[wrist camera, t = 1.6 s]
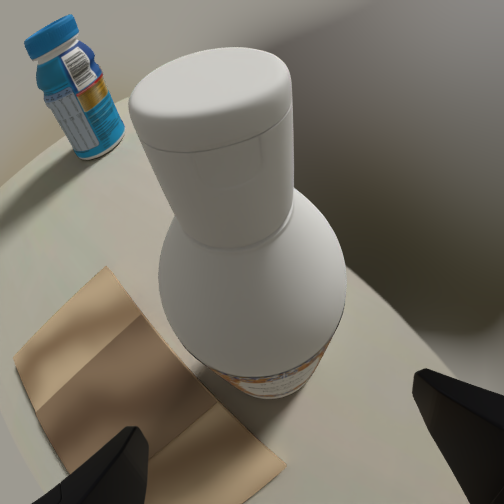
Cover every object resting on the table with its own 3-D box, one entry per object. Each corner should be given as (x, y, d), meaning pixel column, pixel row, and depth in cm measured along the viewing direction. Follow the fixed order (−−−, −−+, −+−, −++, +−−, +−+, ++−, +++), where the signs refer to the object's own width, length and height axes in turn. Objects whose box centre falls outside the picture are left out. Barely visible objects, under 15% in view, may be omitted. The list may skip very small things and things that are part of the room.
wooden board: (286, 464, 17) (286, 467, 16) (152, 558, 13) (145, 563, 12) (111, 272, 27) (104, 264, 25) (20, 360, 22) (11, 356, 21)
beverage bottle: (75, 171, 36) (8, 53, 19) (79, 139, 40) (27, 36, 23) (129, 146, 37) (73, 14, 20) (126, 117, 41) (82, 6, 24)
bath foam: (235, 410, 20) (-16, 309, 3) (213, 323, 23) (70, 73, 6) (330, 382, 20) (504, 164, 3) (300, 298, 24) (309, 11, 7)
